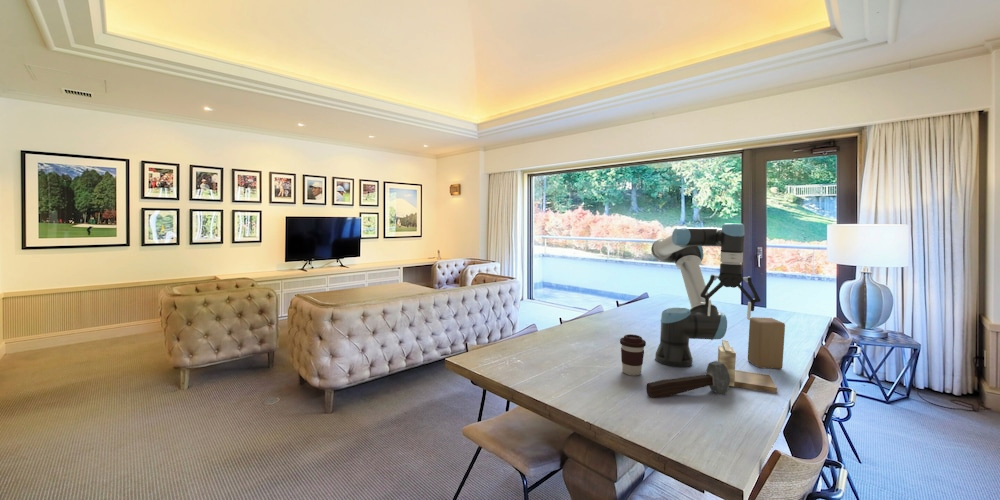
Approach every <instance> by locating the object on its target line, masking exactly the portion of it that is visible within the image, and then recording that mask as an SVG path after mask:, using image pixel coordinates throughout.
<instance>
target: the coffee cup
mask: <svg viewBox="0 0 1000 500" xmlns="http://www.w3.org/2000/svg"><path fill="white" fill-rule="evenodd" d="M646 343H647V342H646V340H645V339H643V338H642V336H641V335H637V334H631V333H630V334H625V335H624V336H623V337H621V338H620V339H619V344H620V345H621V347H620V352H621V354H620V355H621V359H620V360H621V367H622V369H621V370H622V372H623V373H624V374H625V375H629V376H634V377H636V376H640V375H641V374H642V368H643V363H644V356H645V347H646V345H647V344H646Z"/></svg>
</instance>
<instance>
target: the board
mask: <svg viewBox="0 0 1000 500" xmlns="http://www.w3.org/2000/svg"><path fill="white" fill-rule="evenodd" d="M735 387H736V388H741V389H747V390H754V391H760V392H765V393H766V392H767V393H773V394H778V393H777V390H778V388H777V385H776V384H775V382H774V380H773V378H772V376H771V375H770V374H768V373H767V374H765V373H760V372H759V373H758V372H752V371H746V370H739V369H738V370H737V369H735V381H734V386H733V388H735Z"/></svg>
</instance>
